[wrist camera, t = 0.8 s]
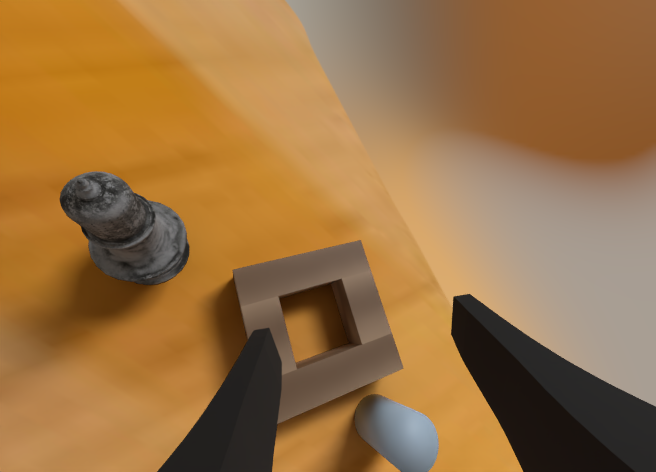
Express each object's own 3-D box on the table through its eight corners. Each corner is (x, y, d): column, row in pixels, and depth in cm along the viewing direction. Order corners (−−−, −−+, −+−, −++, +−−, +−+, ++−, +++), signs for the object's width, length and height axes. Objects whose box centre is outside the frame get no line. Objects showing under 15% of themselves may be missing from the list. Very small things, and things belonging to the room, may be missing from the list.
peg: (399, 431, 24) (446, 460, 19) (362, 451, 23) (401, 488, 18) (385, 387, 25) (426, 402, 20) (349, 404, 24) (382, 425, 18)
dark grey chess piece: (198, 279, 23) (164, 234, 13) (112, 296, 21) (-16, 259, 11) (188, 213, 25) (150, 120, 14) (107, 223, 23) (-11, 123, 12)
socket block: (385, 364, 26) (403, 368, 23) (264, 416, 22) (268, 428, 19) (348, 249, 28) (360, 240, 25) (233, 276, 24) (232, 269, 22)
